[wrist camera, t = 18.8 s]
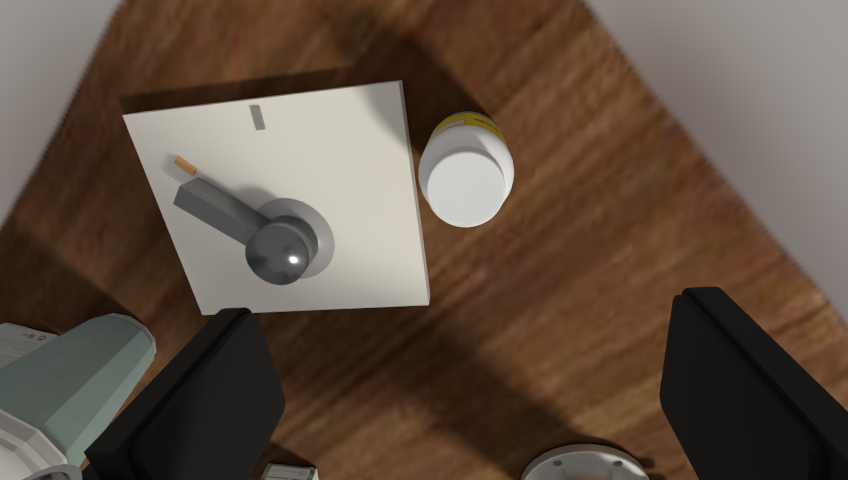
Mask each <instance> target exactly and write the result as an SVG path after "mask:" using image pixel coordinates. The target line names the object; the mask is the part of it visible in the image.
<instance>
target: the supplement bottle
mask: <svg viewBox="0 0 848 480" xmlns="http://www.w3.org/2000/svg"><path fill="white" fill-rule="evenodd" d="M513 178H514V167H513V161H512V157H511V155H510V152H509V149H508V147H507V145H506V142H505V140H504V137H503V135H502V133H501V131H500V129H499V128H498V126H497V125H496V124H495V123H494V122H493V121H492V120H491V119H489V118H488V117H486V116H484V115H482V114H480V113H476V112H459V113H455V114H453V115H451V116H449V117H447V118H445V119H444V120H443V121H442V122H441V123H439V124H438V126H437V127H436V128H435V129H434V131H433V133H432V135H431V137H430V139H429V141H428V144H427V146H426V148H425V150H424V152H423V154H422V157H421V161H420V165H419V183H420V187H421V190H422V193H423V195H424V197H425V198H426V200H427V201H428V203H429V204H430V206H431V208H432V210H433V211H434V213H435V214H436V215H437V216H438V217H439V218H441V219H442V220H444V221H445V222H447V223H449V224H451V225H454V226H459V227H472V226H477V225H480V224H482V223H484V222H486V221H488V220H489V219H491V218H492V217H493V216H494V215H495V214H496V213H497V212H498V210H499V209H500V207H501V205H502V203H503V202H504V201H505V199H506V198H507V196H508V194H509V192H510V190H511V187H512V184H513Z"/></svg>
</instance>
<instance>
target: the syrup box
mask: <svg viewBox="0 0 848 480" xmlns="http://www.w3.org/2000/svg"><path fill="white" fill-rule="evenodd" d="M260 480H319V479H318V473H317V468H314V467H303V466H293V465H283V464H272V463H269V464H268V465H267V467H266V469H265V471H264V473H263V475H262V477H261V479H260Z"/></svg>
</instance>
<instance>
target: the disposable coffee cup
mask: <svg viewBox="0 0 848 480" xmlns="http://www.w3.org/2000/svg"><path fill="white" fill-rule="evenodd" d="M155 353H156V343H155V338H154V337H153V336H152V334H151V333H150V332H149V330H148V329H147V327H146V326H145V325H143V324H141V323H140V322H138V321H137V320H135V319H134V318H132V317H130V316H126V315H121V314H117V313H111V314H107V315H103V316H100V317H96V318H93V319H90V320H88V321H86V322H84V323H82V324H81V325H79V326H77V327H75V328H73V329H72V330H70V331H68V332H66V333H64V334H62V335H61V336H59V337H57V338H55V339H53V340H52V341H50V342H48V343H46V344H44V345H42V346H41V347H39V348H37V349H35V350H33V351H31V352H30V353H28V354H26V355H24V356H22V357H21V358H19V359H17V360H15V361H13V362H11V363H10V364H8V365H6V366H4V367H2V368H1V369H0V480H23V479H24V478H26V477H28V476H30V475H32V474H34V473H36V472H38V471H41V470H43V469H46V468H48V467H51V466H56V465H61V464H71V465H76V466H77V467H78V468H79V466H80V465H81V463H82V462H83V460H84V459H85V458H86V455H85V454H84V451H85V450H86V449H87V448H88V447H89V446H90V445H91V444H92V443H93V442H94V441H95V440H96V439H97V438H98V437H99V435H100V434H101V433H102V432H103V431H104V430H105V429H106V427H107V426H108V425H109V423H110V422H111V420H112V419H113V417H114V416H115V415H116V413H117V412H118V410H119V409H120V407H121V406H122V405H123V403H124V402H125V400H126V399H127V397H128V396H129V394H130V393H131V392H132V390H133V389H134V387H135V386H136V384H137V383H138V382H139V380H140V379H141V377H142V376H143V374H144V373H145V372H146V370H147V369H148V367H149V366H150V364H151V363H152V361H153V360H154V355H155Z"/></svg>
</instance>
